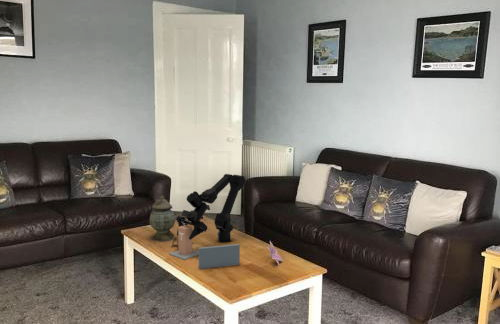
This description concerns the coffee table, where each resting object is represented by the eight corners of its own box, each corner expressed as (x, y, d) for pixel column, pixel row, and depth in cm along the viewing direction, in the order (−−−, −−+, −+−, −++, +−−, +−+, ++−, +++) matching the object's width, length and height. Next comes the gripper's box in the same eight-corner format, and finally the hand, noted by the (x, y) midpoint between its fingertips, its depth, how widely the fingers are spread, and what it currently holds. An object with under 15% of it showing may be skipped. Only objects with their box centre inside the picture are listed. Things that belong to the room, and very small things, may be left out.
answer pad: (186, 248, 246) (186, 247, 246) (201, 253, 239) (201, 252, 239) (168, 254, 237) (168, 253, 237) (184, 260, 230) (184, 258, 229)
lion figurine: (190, 240, 259) (190, 225, 258) (196, 243, 255) (196, 227, 254) (168, 246, 249) (168, 230, 248) (174, 249, 245) (174, 232, 244)
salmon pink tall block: (185, 250, 241) (185, 224, 239) (192, 252, 238) (192, 226, 236) (178, 253, 237) (177, 227, 235) (184, 255, 234) (184, 229, 232)
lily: (268, 271, 219) (279, 254, 218) (253, 256, 226) (263, 240, 225) (282, 271, 229) (292, 255, 227) (266, 256, 236) (276, 241, 234)
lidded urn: (170, 242, 256) (169, 199, 252) (146, 240, 258) (145, 197, 255) (179, 235, 269) (178, 193, 265) (156, 233, 272) (155, 192, 268)
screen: (238, 263, 226) (238, 244, 224) (239, 264, 224) (239, 245, 223) (198, 267, 220) (198, 247, 218) (199, 268, 218) (199, 248, 217)
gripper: (178, 201, 243) (162, 225, 236) (203, 206, 231) (187, 233, 224) (189, 212, 250) (174, 236, 243) (214, 218, 238) (199, 244, 231)
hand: (183, 237), depth 235 cm, fingers open, 9 cm apart
